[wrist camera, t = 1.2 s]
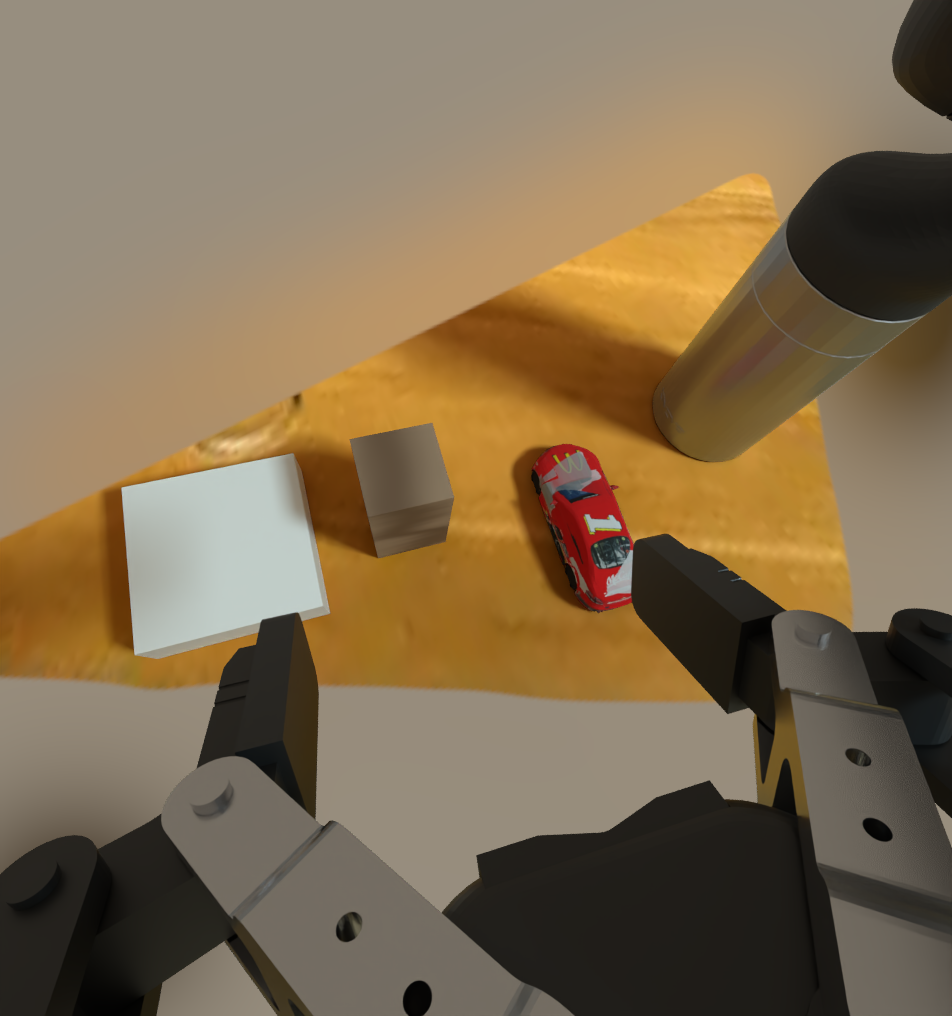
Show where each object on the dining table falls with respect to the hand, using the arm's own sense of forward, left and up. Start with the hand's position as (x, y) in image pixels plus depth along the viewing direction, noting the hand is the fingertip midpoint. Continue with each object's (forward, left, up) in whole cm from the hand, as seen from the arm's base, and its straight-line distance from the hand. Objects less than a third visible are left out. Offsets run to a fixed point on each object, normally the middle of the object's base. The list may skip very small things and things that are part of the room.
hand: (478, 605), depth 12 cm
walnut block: (0, -11, -25) cm, 27 cm away
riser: (+12, -11, -25) cm, 29 cm away
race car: (-13, -7, -25) cm, 30 cm away
